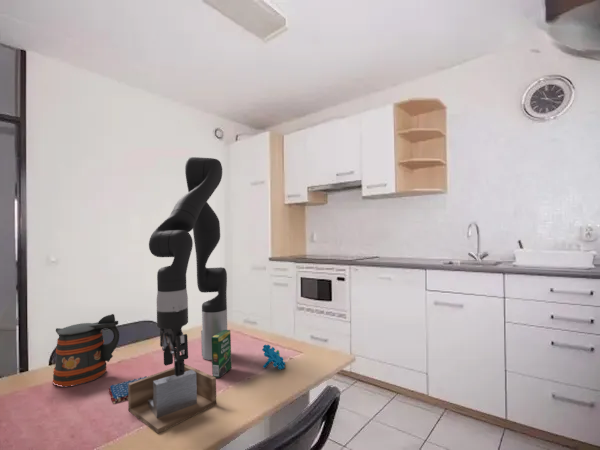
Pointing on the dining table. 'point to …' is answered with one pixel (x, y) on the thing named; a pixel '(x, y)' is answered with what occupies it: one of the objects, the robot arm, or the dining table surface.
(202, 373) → the corner arena
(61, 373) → the beer stein
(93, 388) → the dining table surface
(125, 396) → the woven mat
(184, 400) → the bracket
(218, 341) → the coffee box
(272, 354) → the gear
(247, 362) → the dining table surface
